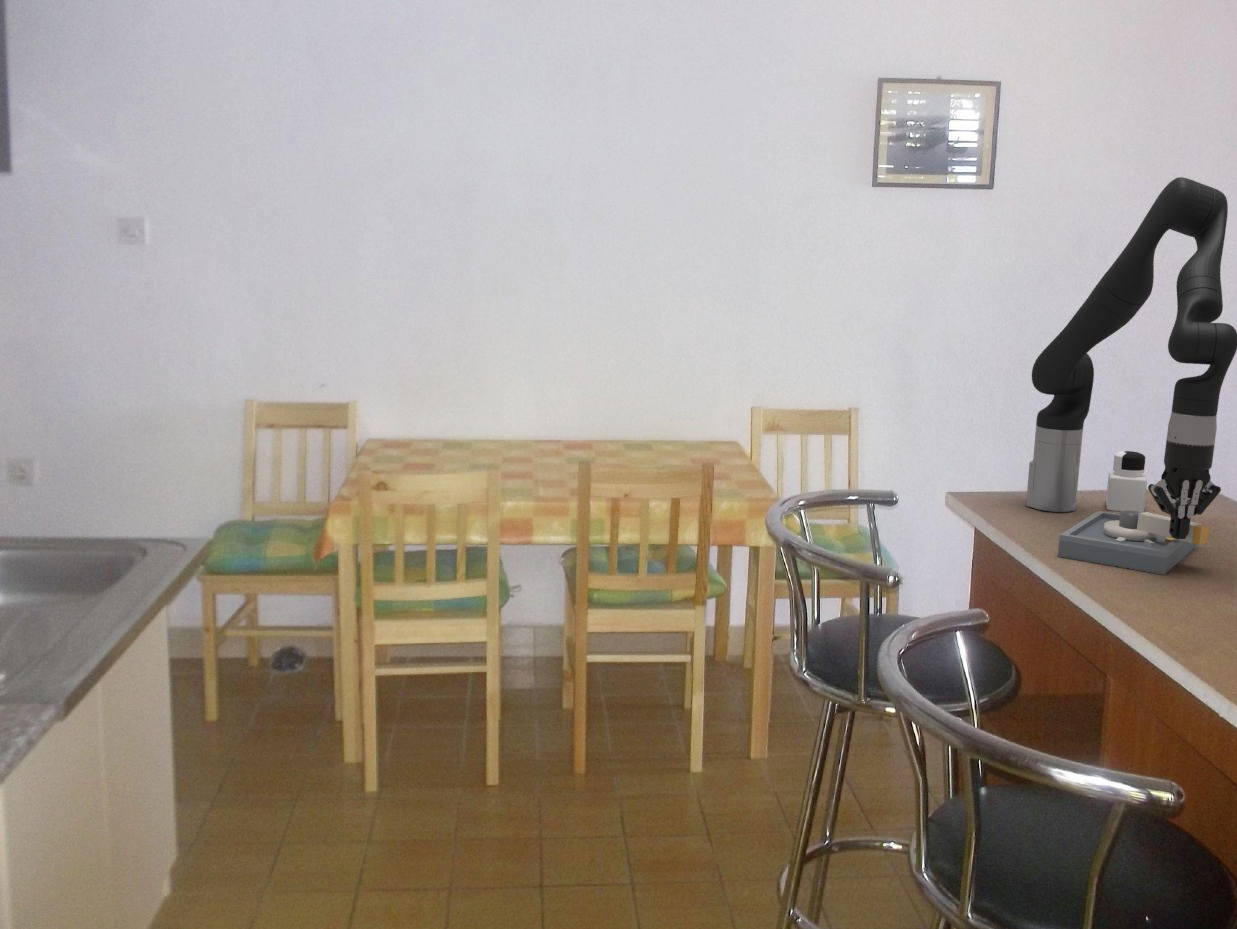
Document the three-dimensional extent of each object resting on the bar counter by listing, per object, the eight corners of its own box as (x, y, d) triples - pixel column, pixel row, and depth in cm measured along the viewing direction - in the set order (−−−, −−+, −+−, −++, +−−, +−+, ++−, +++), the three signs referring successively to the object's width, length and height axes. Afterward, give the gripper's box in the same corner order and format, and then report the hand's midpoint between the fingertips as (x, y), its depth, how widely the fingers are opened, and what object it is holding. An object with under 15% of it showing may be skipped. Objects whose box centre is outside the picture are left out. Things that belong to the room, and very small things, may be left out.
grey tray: (1057, 556, 220) (1059, 534, 219) (1096, 530, 239) (1098, 510, 238) (1164, 574, 210) (1166, 552, 209) (1195, 546, 229) (1198, 525, 228)
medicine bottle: (1141, 506, 261) (1147, 450, 258) (1143, 513, 254) (1150, 456, 252) (1105, 503, 263) (1111, 448, 261) (1107, 510, 256) (1112, 454, 254)
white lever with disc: (1093, 532, 225) (1095, 508, 224) (1122, 526, 230) (1124, 502, 229) (1187, 555, 210) (1190, 530, 209) (1216, 548, 215) (1219, 523, 214)
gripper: (1169, 443, 204) (1156, 544, 208) (1239, 443, 207) (1226, 543, 210) (1142, 435, 212) (1131, 533, 215) (1211, 435, 214) (1198, 532, 217)
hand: (1178, 537), depth 213 cm, fingers closed
